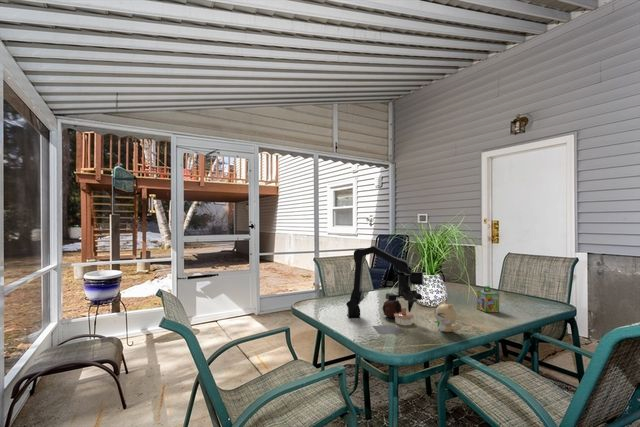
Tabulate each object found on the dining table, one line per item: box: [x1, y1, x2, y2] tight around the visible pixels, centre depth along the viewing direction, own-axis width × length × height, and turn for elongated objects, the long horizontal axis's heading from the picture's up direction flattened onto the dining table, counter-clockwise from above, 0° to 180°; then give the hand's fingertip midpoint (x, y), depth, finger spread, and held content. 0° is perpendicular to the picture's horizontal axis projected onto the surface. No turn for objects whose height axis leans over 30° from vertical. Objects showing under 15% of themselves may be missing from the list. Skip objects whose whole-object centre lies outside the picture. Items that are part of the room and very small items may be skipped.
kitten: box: [434, 298, 462, 333], centre depth 158 cm, size 15×10×15 cm, turn 4°
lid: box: [394, 306, 415, 319], centre depth 170 cm, size 10×10×4 cm
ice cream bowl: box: [382, 300, 403, 319], centre depth 180 cm, size 11×11×15 cm
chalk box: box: [476, 285, 500, 313], centre depth 193 cm, size 9×9×15 cm
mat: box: [372, 324, 404, 335], centre depth 159 cm, size 12×12×1 cm
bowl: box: [394, 317, 414, 326], centre depth 170 cm, size 9×9×4 cm
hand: (403, 312), depth 170 cm, fingers open, 6 cm apart
